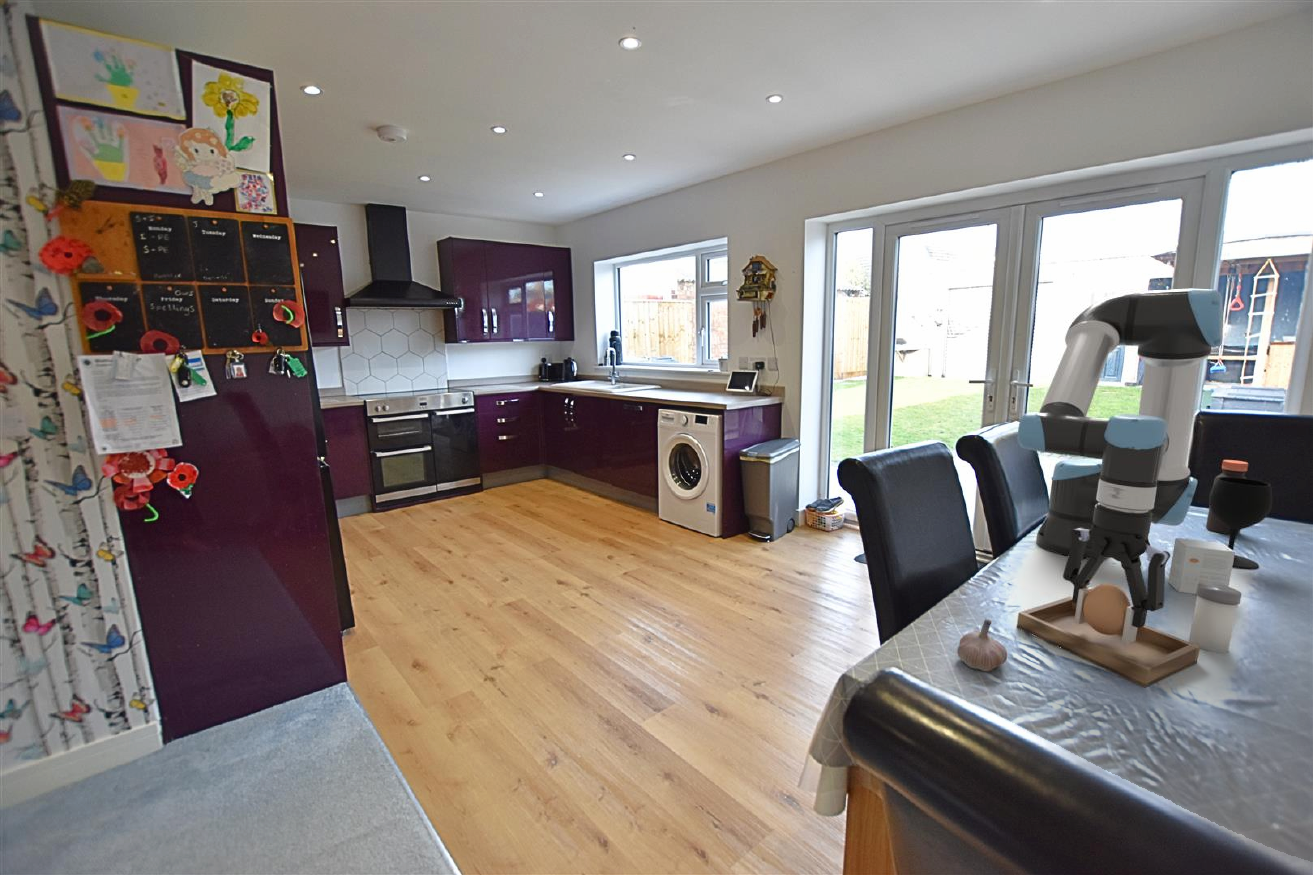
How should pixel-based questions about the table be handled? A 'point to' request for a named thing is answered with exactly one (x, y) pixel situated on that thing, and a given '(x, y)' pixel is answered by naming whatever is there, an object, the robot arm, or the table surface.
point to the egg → (1106, 609)
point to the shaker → (1214, 616)
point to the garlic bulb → (981, 650)
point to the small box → (1199, 564)
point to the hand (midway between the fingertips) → (1103, 631)
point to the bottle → (1229, 470)
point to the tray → (1110, 644)
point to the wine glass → (1240, 508)
